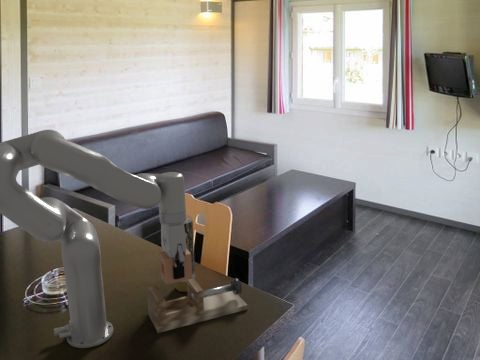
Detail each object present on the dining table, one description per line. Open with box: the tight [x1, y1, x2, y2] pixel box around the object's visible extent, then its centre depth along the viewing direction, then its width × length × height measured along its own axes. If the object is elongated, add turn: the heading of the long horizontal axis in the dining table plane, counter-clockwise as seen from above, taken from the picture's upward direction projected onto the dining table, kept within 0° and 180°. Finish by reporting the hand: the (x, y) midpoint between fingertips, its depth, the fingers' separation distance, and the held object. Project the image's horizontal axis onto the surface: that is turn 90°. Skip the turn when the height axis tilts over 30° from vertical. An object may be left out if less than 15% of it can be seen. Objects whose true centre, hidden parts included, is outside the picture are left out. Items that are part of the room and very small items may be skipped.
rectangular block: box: [158, 249, 192, 286], centre depth 133 cm, size 8×5×8 cm, turn 115°
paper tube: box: [174, 215, 196, 293], centre depth 151 cm, size 7×7×25 cm
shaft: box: [191, 277, 242, 301], centre depth 141 cm, size 16×5×5 cm, turn 115°
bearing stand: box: [146, 278, 248, 334], centre depth 139 cm, size 28×11×10 cm, turn 115°
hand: (176, 273), depth 134 cm, fingers closed on rectangular block, 5 cm apart
